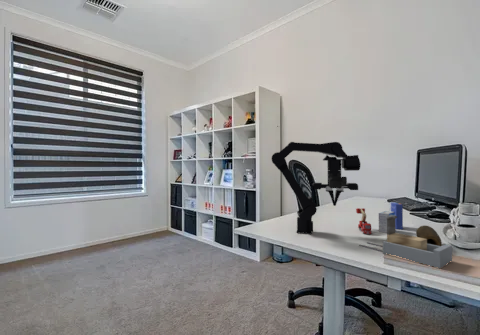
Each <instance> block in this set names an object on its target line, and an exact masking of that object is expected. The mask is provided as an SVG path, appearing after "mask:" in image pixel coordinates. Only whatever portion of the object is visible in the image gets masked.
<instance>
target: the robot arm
mask: <svg viewBox="0 0 480 335" xmlns="http://www.w3.org/2000/svg"><path fill="white" fill-rule="evenodd" d="M292 152H306V153H310V152H311V153H319V154H323V155H325V156H324V158H322V161H324V162H325V161H327V183H322V182H313V183H312V190H321V189H325V192H327V193H328V194H329V196H330V199H331V202H332V204H333V205H332V206H335V207H336V206H337V203H338V201H339V197H340V195H341V193H344V192H345V190H344V189H348V190H350V191H359V185H358V183H356V182H347V179H348V177H347V176H342V169H344V171H349V172H350V171H360V169H361V160H360V157H359V154H354V155H347V153H346V152H345V151H344V149H343V146H342V144H341V143H340V142H337V141H333V142H332V141H331V142H325V143H309V142H308V143H307V142H295V141H290V142H288V144H287V145H286V146H285V147H283V148H282V149H281V150H280V151H278V152H277V151H276V152H274V153H273V154H272V156H271V162H272V164H274V166H275V167H276V168H277V169H278V170H279V171H280V172H281V174H282V175H283V177H284V178H285V180H286V182H287V183H288V185H289V186H290V188H291V190H292V192H293V193H294V195H295V197H296V198H297V200H298V203H299V205H300V208H299V209H298V210H297V212H296V213H297V218H296V224H297V225H296V233H297V234H313V232H314V221H312V218H313V216H314V215H315V214H316V213H317V204H316V203H315V202H314V200H313V198H312V196H310V195H308V196H307V195H306V194H305V193H304V191H303V189H302V187H301V186H300V184H299V183H298V181H297V179H296V177H295V176H294V175H293V172H291V170H290V168H289V166H288V162H287V161H286V158H287V157H288V156H289V155H290V154H291V153H292ZM334 189H335V192H334Z"/></svg>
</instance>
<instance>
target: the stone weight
mask: <svg viewBox="0 0 480 335" xmlns="http://www.w3.org/2000/svg"><path fill="white" fill-rule="evenodd" d="M415 234H416V236H415V237H419V238H424V239H427V244H432V245H437V246H443V244H442V243H443V242H442V239H441V237H440V235H439V234H438V233H437V231H436V230H435V228H433V227H432V226H429V225H421V226H418V227H417V229H416V232H415Z"/></svg>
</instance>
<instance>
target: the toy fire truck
mask: <svg viewBox="0 0 480 335" xmlns="http://www.w3.org/2000/svg"><path fill="white" fill-rule="evenodd" d="M355 212H356V213H357V214H361V220H359V221H358V222H359V223H358V227H357V228H358V230H359V231H360V232H362V234H365V235H371V234H372V224H371V223H370V222H368V221H366V219H367V213H366V208H358V207H357V208H355Z"/></svg>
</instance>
